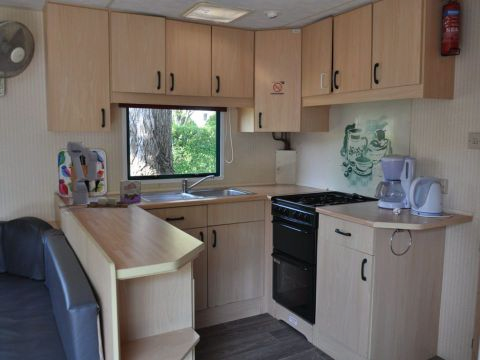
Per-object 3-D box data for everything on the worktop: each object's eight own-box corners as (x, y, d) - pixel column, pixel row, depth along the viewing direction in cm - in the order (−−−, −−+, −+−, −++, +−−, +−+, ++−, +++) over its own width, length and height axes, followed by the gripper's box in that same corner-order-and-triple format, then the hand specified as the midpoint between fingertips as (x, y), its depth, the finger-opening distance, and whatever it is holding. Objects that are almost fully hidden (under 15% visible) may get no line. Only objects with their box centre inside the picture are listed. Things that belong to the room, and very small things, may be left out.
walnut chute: (87, 209, 273) (87, 204, 273) (90, 206, 286) (90, 201, 286) (127, 209, 278) (127, 204, 278) (129, 206, 291) (129, 201, 290)
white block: (97, 206, 278) (97, 198, 277) (99, 205, 283) (99, 197, 283) (105, 206, 279) (105, 198, 278) (107, 205, 284) (107, 197, 284)
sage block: (107, 206, 279) (107, 198, 278) (108, 205, 285) (108, 197, 284) (115, 206, 280) (115, 198, 279) (116, 205, 286) (116, 197, 285)
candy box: (120, 204, 297) (120, 180, 296) (120, 203, 303) (120, 180, 301) (140, 204, 301) (140, 180, 299) (140, 203, 306) (140, 180, 305)
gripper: (79, 171, 272) (79, 192, 273) (103, 171, 275) (103, 192, 276) (81, 170, 279) (81, 191, 280) (104, 171, 282) (104, 191, 283)
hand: (92, 192), depth 279 cm, fingers open, 4 cm apart
